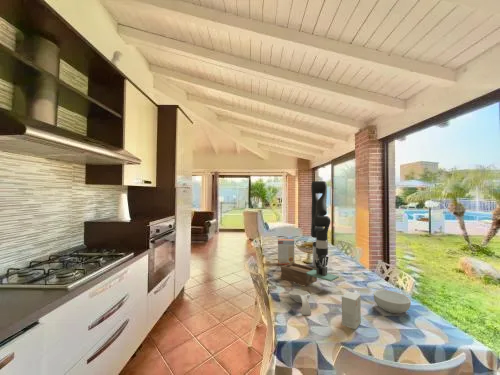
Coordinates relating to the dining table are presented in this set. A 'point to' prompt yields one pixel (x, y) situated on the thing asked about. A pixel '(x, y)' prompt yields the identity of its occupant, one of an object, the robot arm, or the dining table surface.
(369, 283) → the dining table surface
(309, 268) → the lid box
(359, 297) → the small box
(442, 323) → the dining table surface
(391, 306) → the cereal bowl
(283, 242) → the cracker box
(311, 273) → the cover plate
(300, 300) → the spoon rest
